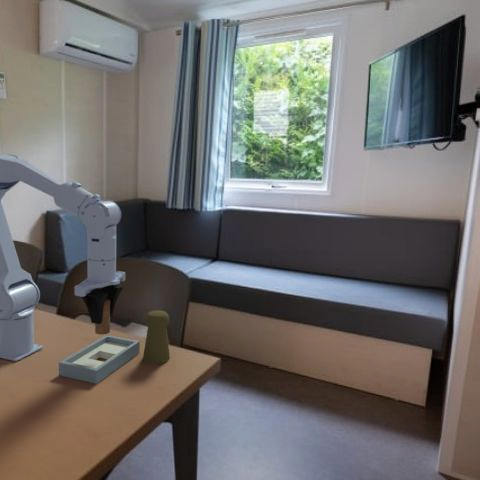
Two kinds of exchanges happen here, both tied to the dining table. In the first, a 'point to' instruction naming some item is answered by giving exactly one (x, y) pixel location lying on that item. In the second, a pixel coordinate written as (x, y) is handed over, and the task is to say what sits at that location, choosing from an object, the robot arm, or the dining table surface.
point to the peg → (104, 320)
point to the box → (107, 347)
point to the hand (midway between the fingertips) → (101, 320)
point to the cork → (156, 338)
